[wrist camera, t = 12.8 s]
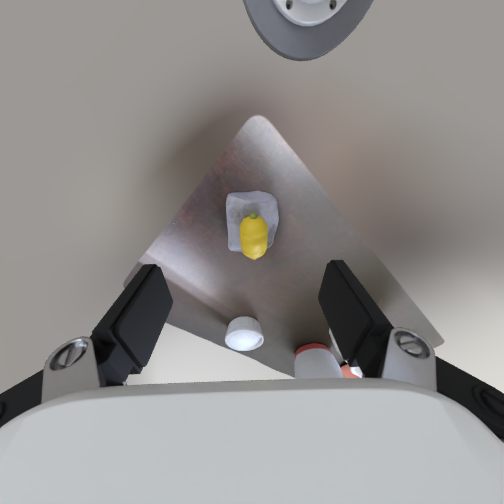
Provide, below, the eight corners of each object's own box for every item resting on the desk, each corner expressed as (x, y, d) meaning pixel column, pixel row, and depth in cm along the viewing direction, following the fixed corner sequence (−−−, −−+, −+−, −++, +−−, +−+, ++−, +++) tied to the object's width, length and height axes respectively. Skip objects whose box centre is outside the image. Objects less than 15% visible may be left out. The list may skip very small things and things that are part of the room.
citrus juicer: (307, 366, 73) (325, 436, 56) (281, 351, 66) (292, 426, 49) (343, 352, 67) (374, 424, 51) (318, 333, 60) (345, 411, 43)
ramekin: (258, 336, 60) (259, 352, 55) (225, 333, 59) (223, 350, 54) (265, 314, 54) (267, 331, 49) (227, 311, 52) (226, 328, 48)
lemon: (238, 206, 30) (237, 221, 26) (267, 206, 30) (270, 220, 27) (241, 251, 36) (241, 268, 33) (265, 250, 36) (267, 267, 33)
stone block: (274, 187, 35) (222, 190, 33) (283, 195, 31) (225, 199, 29) (270, 239, 42) (227, 244, 40) (277, 251, 38) (229, 257, 36)
